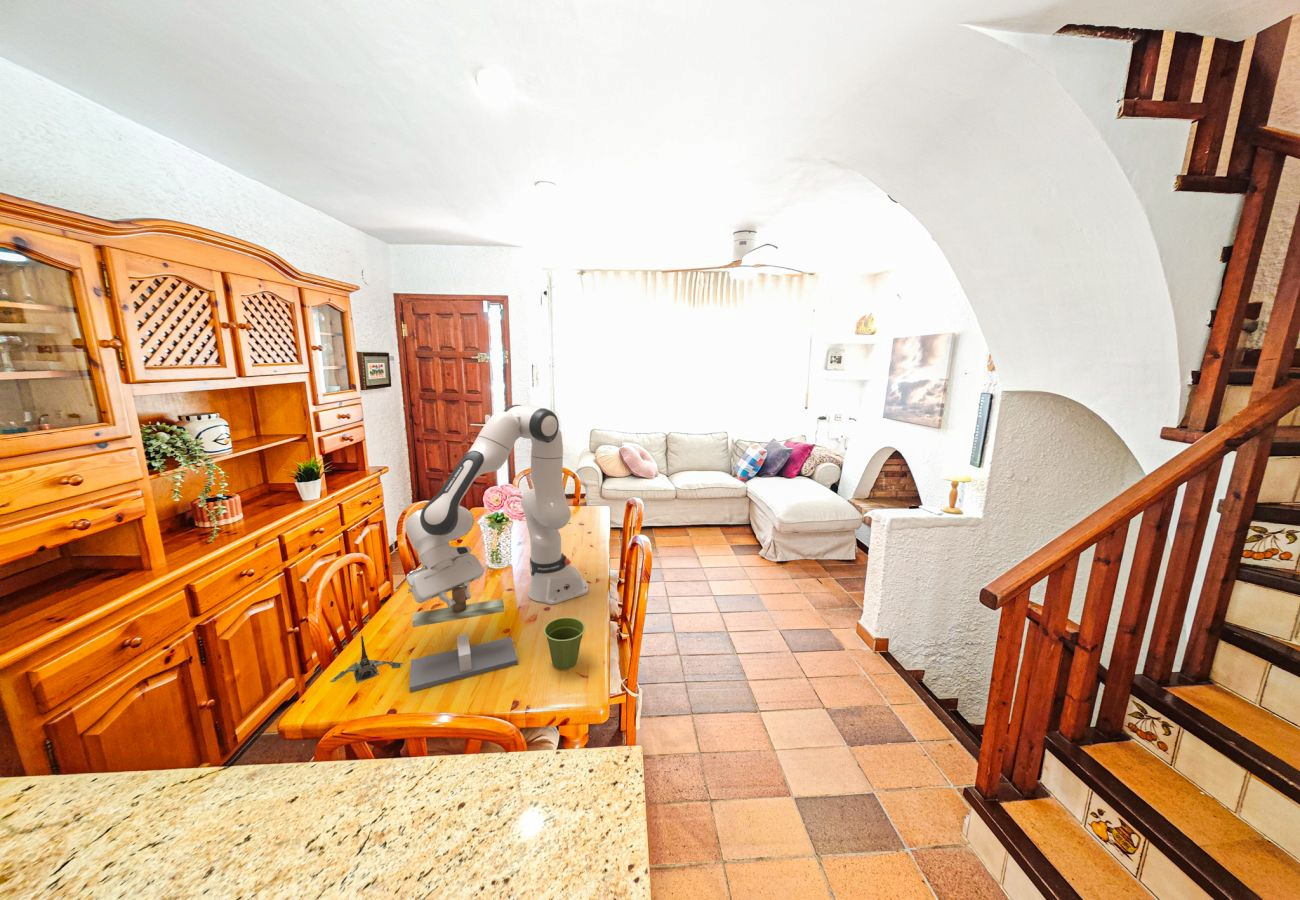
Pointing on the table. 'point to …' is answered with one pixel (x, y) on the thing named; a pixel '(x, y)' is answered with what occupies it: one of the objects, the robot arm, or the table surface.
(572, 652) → the plant pot
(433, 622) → the balance beam
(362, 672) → the eiffel tower figurine
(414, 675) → the stand
